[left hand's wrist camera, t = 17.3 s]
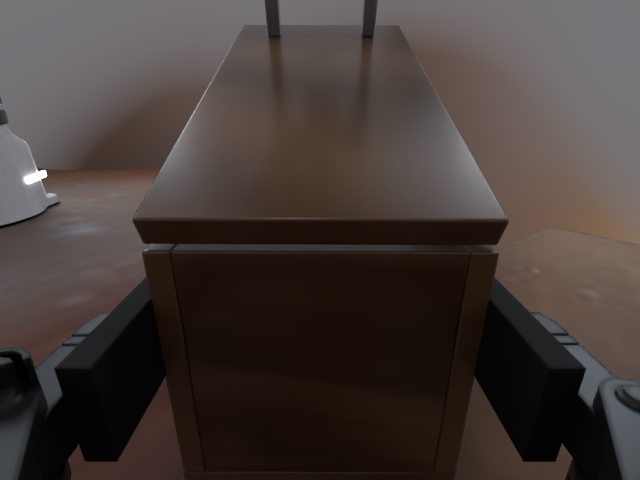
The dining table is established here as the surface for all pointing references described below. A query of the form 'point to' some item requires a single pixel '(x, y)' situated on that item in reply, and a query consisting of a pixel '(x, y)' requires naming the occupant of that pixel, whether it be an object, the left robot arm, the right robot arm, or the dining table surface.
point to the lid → (320, 148)
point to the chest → (319, 356)
